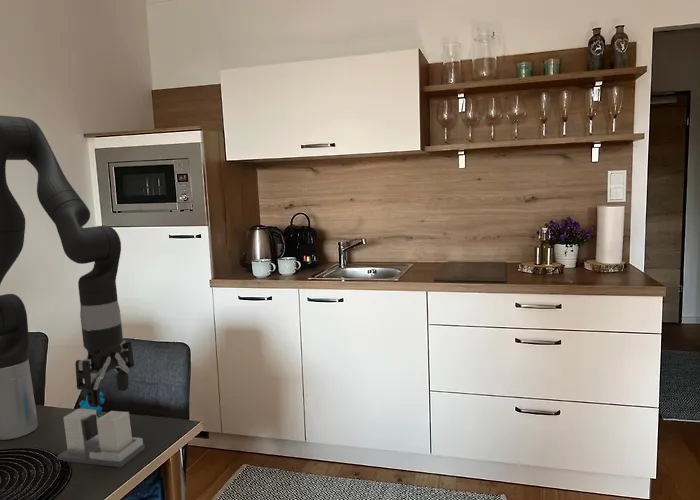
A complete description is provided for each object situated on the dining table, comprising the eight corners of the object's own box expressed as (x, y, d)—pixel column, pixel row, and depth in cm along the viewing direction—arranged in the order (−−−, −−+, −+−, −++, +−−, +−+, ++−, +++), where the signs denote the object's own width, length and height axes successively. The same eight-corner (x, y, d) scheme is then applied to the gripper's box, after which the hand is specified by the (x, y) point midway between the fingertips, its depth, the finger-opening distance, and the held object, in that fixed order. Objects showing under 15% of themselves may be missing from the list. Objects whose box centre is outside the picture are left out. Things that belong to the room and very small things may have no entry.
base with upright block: (57, 460, 119) (52, 420, 117) (85, 442, 126) (80, 404, 125) (120, 467, 114) (115, 425, 113) (145, 448, 122) (140, 409, 120)
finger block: (113, 445, 122) (109, 410, 121) (133, 447, 120) (128, 412, 119) (99, 455, 117) (94, 419, 116) (118, 457, 116) (114, 421, 115)
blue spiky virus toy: (64, 417, 137) (92, 383, 139) (84, 427, 140) (111, 393, 143) (76, 438, 128) (106, 401, 131) (97, 448, 132) (125, 411, 135)
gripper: (110, 313, 123) (117, 384, 125) (60, 332, 109) (69, 410, 112) (139, 315, 121) (146, 386, 123) (91, 334, 107) (100, 414, 109)
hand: (109, 397), depth 117 cm, fingers open, 8 cm apart
